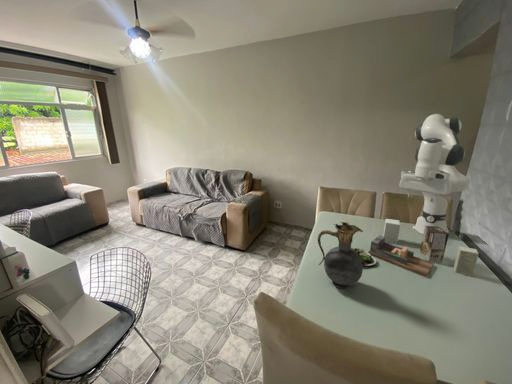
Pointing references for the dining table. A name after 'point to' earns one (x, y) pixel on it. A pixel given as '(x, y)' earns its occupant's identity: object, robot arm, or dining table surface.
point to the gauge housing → (399, 257)
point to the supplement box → (391, 230)
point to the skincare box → (465, 260)
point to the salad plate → (365, 257)
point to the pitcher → (342, 257)
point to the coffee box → (434, 243)
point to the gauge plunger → (400, 252)
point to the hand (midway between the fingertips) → (420, 199)
